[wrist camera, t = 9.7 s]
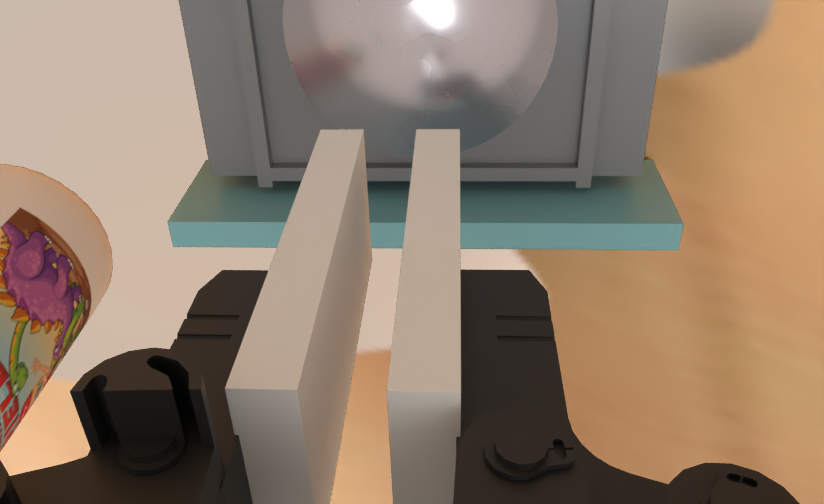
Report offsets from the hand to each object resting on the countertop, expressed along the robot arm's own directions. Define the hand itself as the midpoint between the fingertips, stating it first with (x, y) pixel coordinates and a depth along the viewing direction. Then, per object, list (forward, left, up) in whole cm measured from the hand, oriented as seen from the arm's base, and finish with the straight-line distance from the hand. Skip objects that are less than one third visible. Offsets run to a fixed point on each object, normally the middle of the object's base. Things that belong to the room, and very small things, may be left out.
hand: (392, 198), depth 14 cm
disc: (0, 0, -12) cm, 12 cm away
